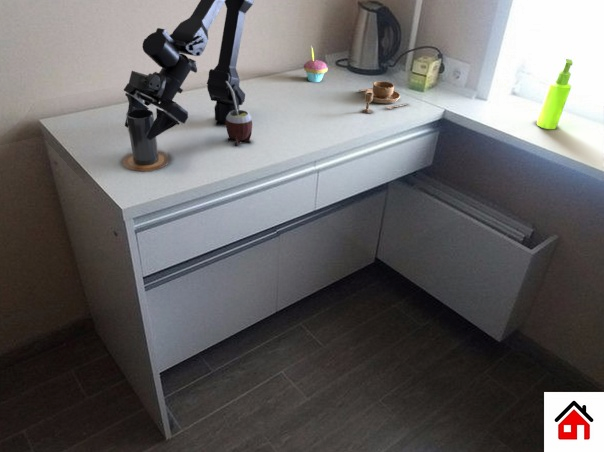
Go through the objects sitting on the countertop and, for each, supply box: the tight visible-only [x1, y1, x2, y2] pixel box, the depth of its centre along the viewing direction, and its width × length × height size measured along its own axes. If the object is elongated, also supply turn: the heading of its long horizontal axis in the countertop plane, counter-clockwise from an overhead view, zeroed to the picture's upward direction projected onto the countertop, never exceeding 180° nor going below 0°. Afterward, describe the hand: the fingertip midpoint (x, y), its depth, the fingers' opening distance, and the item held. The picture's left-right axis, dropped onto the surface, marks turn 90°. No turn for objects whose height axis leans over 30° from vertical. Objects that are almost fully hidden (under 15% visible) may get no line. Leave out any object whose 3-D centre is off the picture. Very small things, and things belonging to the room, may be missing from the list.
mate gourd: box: [225, 81, 253, 147], centre depth 131 cm, size 8×8×15 cm
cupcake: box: [303, 45, 328, 83], centre depth 178 cm, size 9×8×12 cm
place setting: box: [358, 80, 408, 114], centre depth 164 cm, size 18×20×6 cm
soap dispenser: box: [536, 58, 574, 130], centre depth 150 cm, size 6×7×20 cm
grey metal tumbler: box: [125, 109, 159, 165], centre depth 119 cm, size 6×6×12 cm
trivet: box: [122, 150, 170, 172], centre depth 122 cm, size 11×11×1 cm
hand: (137, 132), depth 117 cm, fingers open, 9 cm apart
